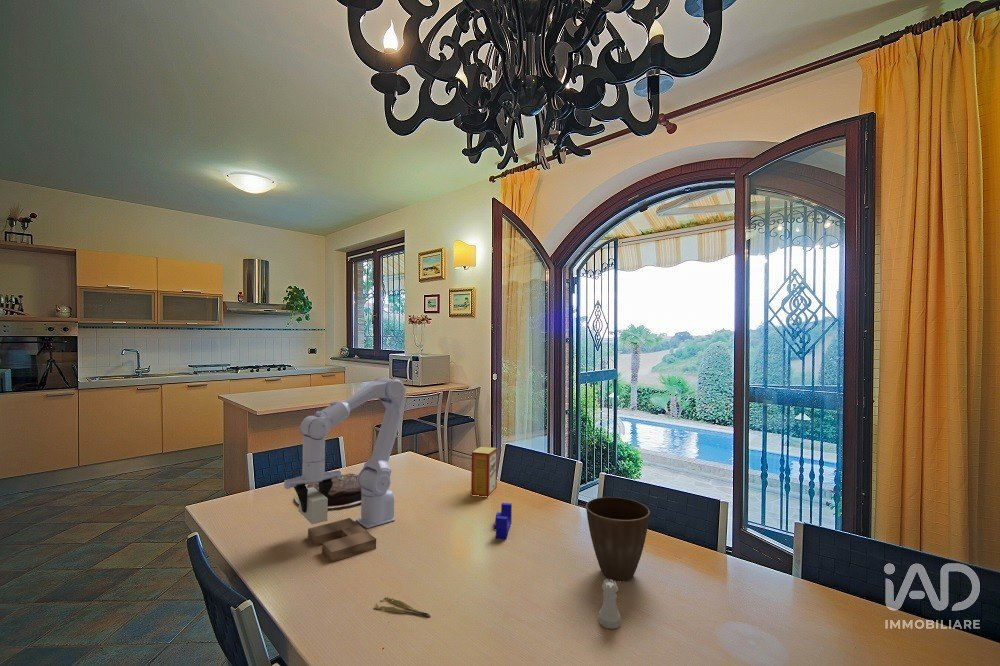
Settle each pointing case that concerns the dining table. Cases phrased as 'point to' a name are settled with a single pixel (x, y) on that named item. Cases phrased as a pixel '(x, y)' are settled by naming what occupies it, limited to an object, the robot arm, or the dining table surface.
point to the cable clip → (503, 521)
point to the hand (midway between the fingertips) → (313, 509)
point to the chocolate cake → (341, 492)
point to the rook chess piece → (609, 606)
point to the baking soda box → (484, 471)
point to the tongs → (400, 609)
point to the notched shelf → (341, 539)
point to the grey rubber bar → (315, 506)
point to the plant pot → (617, 535)
